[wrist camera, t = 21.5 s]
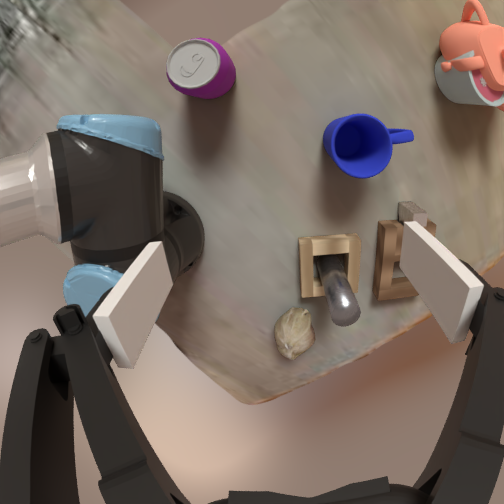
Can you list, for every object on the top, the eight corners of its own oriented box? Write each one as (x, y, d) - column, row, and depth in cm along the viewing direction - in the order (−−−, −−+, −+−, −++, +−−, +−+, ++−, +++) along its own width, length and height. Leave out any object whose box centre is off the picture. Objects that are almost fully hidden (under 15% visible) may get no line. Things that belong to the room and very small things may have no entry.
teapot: (498, 49, 29) (543, 46, 17) (487, 122, 37) (536, 132, 25) (435, 6, 29) (477, -14, 16) (422, 82, 36) (469, 79, 24)
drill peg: (316, 272, 52) (330, 327, 38) (316, 252, 50) (332, 304, 37) (338, 270, 52) (359, 324, 38) (338, 250, 50) (361, 301, 36)
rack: (300, 288, 53) (301, 297, 51) (298, 237, 49) (300, 245, 46) (353, 283, 53) (357, 292, 50) (356, 233, 48) (361, 240, 46)
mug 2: (442, 105, 37) (476, 108, 28) (428, 54, 33) (460, 46, 24) (493, 100, 35) (528, 104, 26) (481, 54, 31) (515, 50, 22)
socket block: (378, 220, 47) (385, 228, 44) (427, 218, 46) (436, 225, 43) (372, 290, 53) (377, 300, 50) (417, 284, 52) (424, 294, 49)
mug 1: (393, 154, 42) (422, 166, 33) (324, 170, 44) (339, 185, 35) (383, 105, 39) (411, 105, 30) (311, 119, 41) (323, 120, 32)
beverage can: (210, 44, 36) (191, 21, 25) (247, 73, 38) (241, 58, 27) (176, 80, 39) (147, 70, 28) (212, 109, 41) (194, 107, 30)
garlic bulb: (294, 327, 61) (292, 371, 54) (263, 312, 57) (258, 358, 51) (328, 310, 55) (330, 357, 48) (297, 291, 52) (295, 342, 45)
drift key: (398, 202, 45) (413, 213, 40) (411, 201, 45) (427, 213, 40) (395, 245, 49) (408, 260, 43) (407, 244, 48) (421, 259, 43)
